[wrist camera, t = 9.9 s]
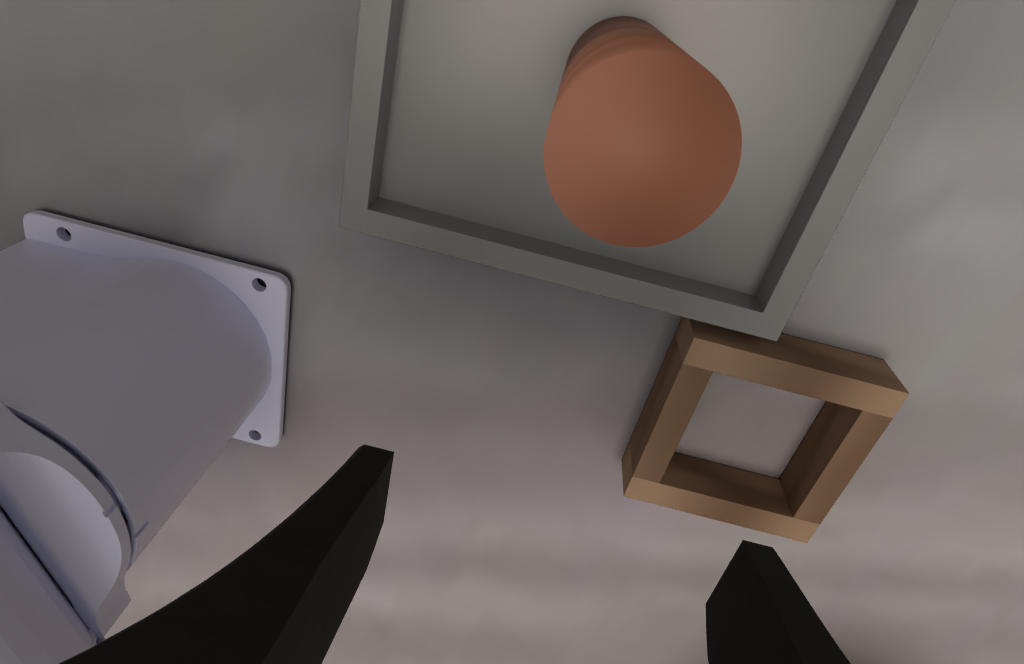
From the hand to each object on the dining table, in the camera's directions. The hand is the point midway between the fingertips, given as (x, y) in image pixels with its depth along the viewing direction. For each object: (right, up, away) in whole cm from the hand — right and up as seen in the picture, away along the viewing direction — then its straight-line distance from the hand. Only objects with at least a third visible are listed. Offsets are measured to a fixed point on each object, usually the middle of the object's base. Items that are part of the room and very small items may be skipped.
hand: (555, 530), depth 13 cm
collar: (+8, +1, +10) cm, 13 cm away
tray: (+2, +11, +5) cm, 13 cm away
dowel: (+2, +11, +5) cm, 12 cm away
